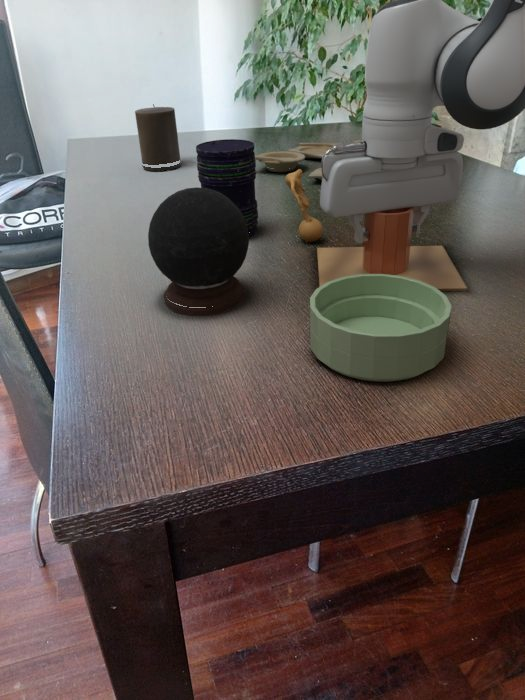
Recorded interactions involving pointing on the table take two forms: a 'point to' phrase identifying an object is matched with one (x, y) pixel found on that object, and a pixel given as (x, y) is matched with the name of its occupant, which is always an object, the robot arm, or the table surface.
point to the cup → (388, 241)
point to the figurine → (304, 209)
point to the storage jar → (231, 174)
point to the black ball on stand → (199, 250)
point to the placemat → (423, 266)
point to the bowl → (379, 326)
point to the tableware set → (296, 157)
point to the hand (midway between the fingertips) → (387, 238)
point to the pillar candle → (158, 137)
